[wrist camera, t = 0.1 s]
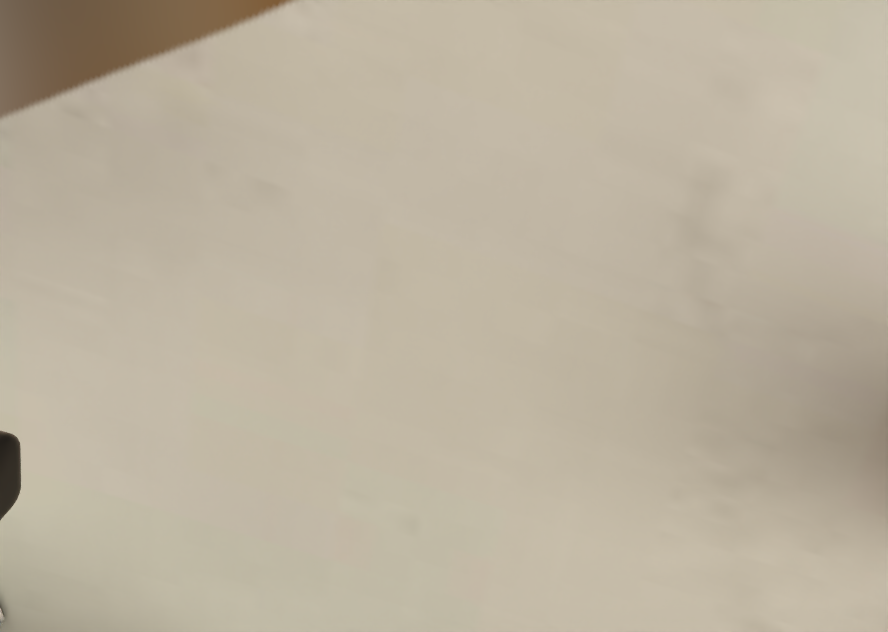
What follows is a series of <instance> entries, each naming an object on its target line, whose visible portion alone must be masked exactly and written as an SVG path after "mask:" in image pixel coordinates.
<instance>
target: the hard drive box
mask: <svg viewBox="0 0 888 632" xmlns="http://www.w3.org/2000/svg"><path fill="white" fill-rule="evenodd" d="M3 622H4V615H3V613H2V610H1V608H0V626H1V625H2V623H3Z"/></svg>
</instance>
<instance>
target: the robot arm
mask: <svg viewBox="0 0 888 632" xmlns="http://www.w3.org/2000/svg"><path fill="white" fill-rule="evenodd" d="M20 489H21V458H20V442H19V440H18V438H17V437H16V436H14V435H13V434H10V433H7V432H3V431H0V520H1V519H2V518H3V516H4V515H5V514H6V513H7V512H8V511H9V510H10V509H11V507H12V506H13V505H14V503H15V502H16V500H17V498H18V496H19V493H20Z"/></svg>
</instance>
